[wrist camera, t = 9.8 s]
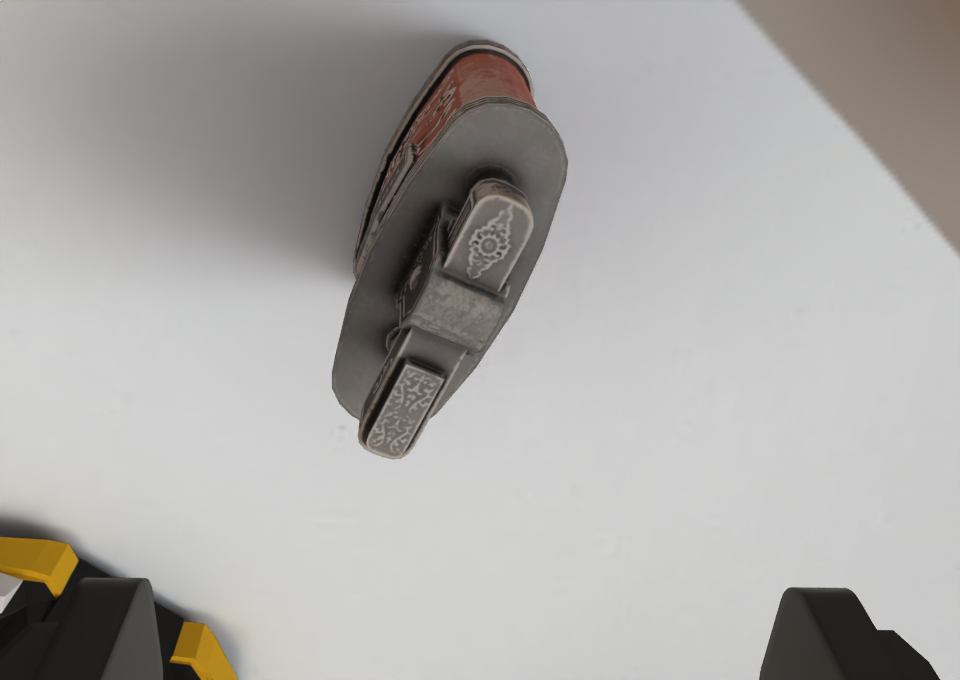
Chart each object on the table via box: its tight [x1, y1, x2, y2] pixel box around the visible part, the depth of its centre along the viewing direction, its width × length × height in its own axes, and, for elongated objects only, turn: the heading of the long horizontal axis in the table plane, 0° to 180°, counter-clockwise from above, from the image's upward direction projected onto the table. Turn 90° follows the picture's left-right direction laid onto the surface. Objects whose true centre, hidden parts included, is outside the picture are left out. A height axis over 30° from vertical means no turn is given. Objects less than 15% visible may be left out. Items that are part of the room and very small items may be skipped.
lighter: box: [332, 40, 568, 459], centre depth 21 cm, size 8×3×10 cm, turn 153°
